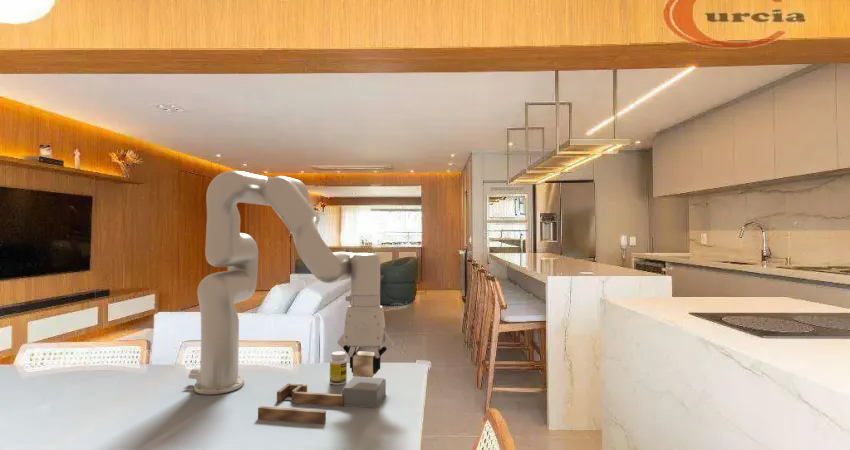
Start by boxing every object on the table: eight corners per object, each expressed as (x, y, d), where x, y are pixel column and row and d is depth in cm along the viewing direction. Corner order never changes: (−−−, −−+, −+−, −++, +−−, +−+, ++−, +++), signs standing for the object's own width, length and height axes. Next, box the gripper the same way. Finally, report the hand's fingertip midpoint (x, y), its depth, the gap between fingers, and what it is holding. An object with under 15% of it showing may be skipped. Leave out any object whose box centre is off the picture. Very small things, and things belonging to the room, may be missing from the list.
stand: (341, 405, 109) (341, 388, 109) (353, 392, 118) (353, 376, 118) (376, 408, 107) (377, 390, 107) (385, 394, 116) (385, 378, 116)
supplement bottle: (342, 386, 122) (343, 355, 122) (327, 384, 123) (327, 354, 123) (349, 380, 127) (349, 351, 127) (333, 379, 128) (334, 350, 128)
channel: (255, 418, 101) (256, 407, 101) (287, 392, 117) (287, 383, 117) (328, 424, 98) (328, 413, 98) (350, 397, 114) (350, 387, 114)
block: (352, 376, 110) (352, 356, 111) (358, 370, 115) (358, 351, 115) (372, 377, 110) (372, 357, 110) (377, 371, 115) (377, 352, 115)
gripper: (328, 302, 110) (328, 374, 110) (394, 304, 108) (394, 378, 108) (338, 297, 118) (338, 365, 118) (400, 299, 115) (400, 368, 115)
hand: (365, 370), depth 113 cm, fingers closed on block, 5 cm apart
